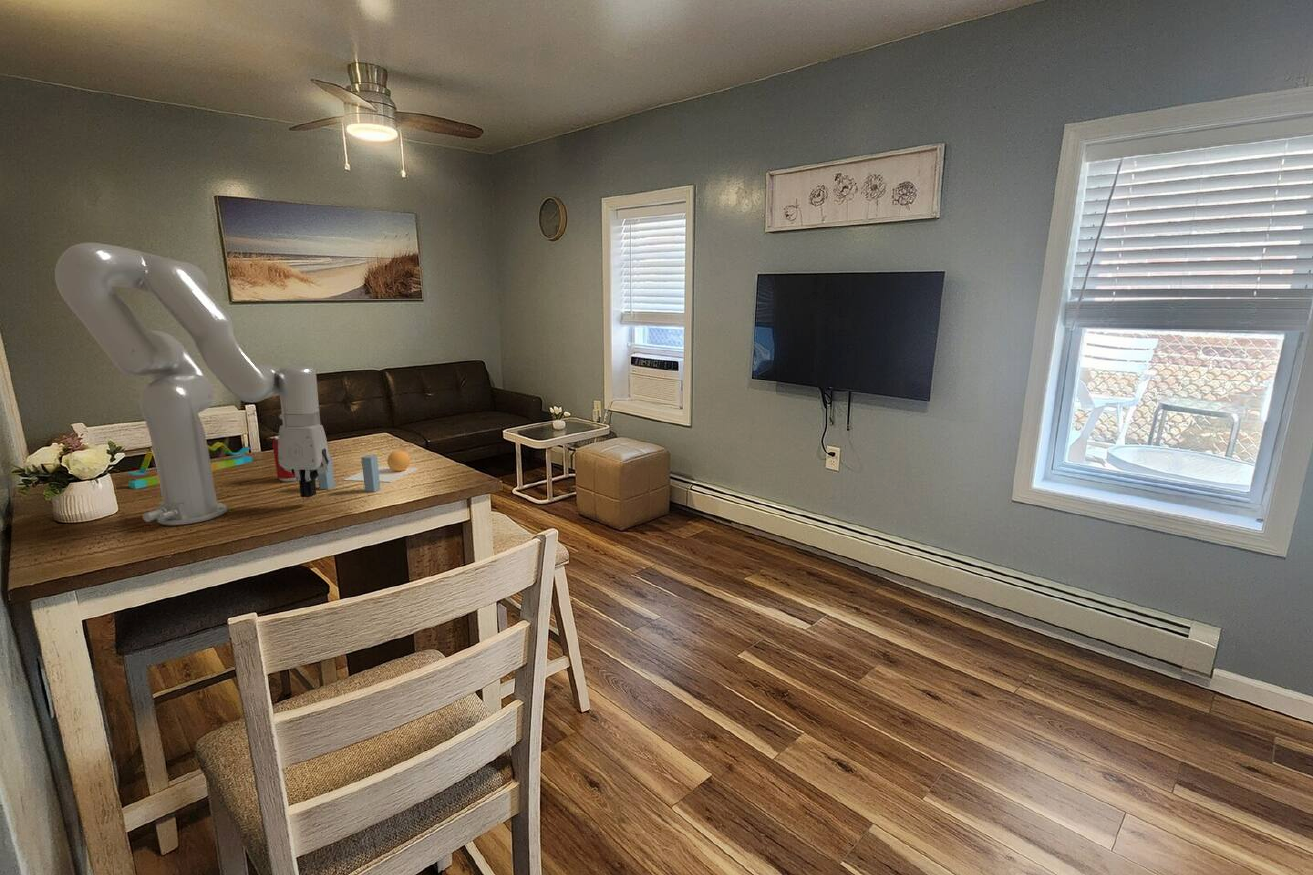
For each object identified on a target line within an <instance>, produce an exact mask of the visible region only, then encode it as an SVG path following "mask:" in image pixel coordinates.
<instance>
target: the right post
mask: <svg viewBox="0 0 1313 875" xmlns="http://www.w3.org/2000/svg"><path fill="white" fill-rule="evenodd" d="M360 459H361V467H362V471H363V478H364V481H363V485H364V491H365V492H366V493H367V492H368V493H370V492H371V493H376V492H377V491H379V490H381V482H380V480H379V471H378V466H379V464H378V455H376V454H375V455H374V454H366V455H363V456H361V458H360Z"/></svg>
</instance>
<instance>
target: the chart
mask: <svg viewBox="0 0 1313 875" xmlns="http://www.w3.org/2000/svg"><path fill="white" fill-rule="evenodd" d="M207 446H208V451H216V450H217V449H219V448H220V447H221V449H223V451H225V453H226V454H228V455H230V456H231V455H232V456H237V457H233V458H228V459H224V460H220V461H214V462H210V463H211V469H212V472H215V471H218V470H221V469H225V468H226V469H227V468H231V467H235V466H238V465H244V464H249V463H252V462H254V461H253V457H252V455H251V456H250V455H244V454H245V453H247V452H248V451H250V450H251V447H250V446H244V447H242V448H241V449H239V451H237V452H232V450H230V449H229V447H228V446H226V445H225V444H224V442H220V441H216V442H215V443H214V444H212V445H211V446H210V445H208V444H207ZM153 455H154V453H153V451H148V452H146V454H145V456H144V458H143V461H142V463H141V466H140V468H139V471H136V472H135V471H134V472H133V471H132V472H126V474H127V475H130V476H139V475H140V476H141V475H143V476H144V475H145V474H146V473H147V470H148V467H149V465H150V463H151V459H152V456H153ZM238 455H240V456H238ZM242 455H243V456H242ZM127 483H128V487H129V488H131V489H141V488H144V487H145V488H146V487H149V486H155V485H158V484H159V485H160V483H159V478H158V474H156V475H151V476H147V477H143V478H138V479H135V480H134V479H133V480H129V481H128V482H127Z"/></svg>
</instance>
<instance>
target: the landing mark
mask: <svg viewBox="0 0 1313 875" xmlns="http://www.w3.org/2000/svg"><path fill="white" fill-rule="evenodd" d="M418 469H419V467H408V468H407V469H405V470H403V471H394V470H392V469H391V468H390V467H389V466H381V465H380V466H379V465H378V471H379V480H380V483H392V482H394V481H397V480H398V479H401V478H403V477H405V476H406V475H409V474H410V473H412V472H413V473H414V472H415V471H417V470H418ZM343 481H346V482H348V481H349V482H350V481H352V482H364V478H363V470H362V471H360V472H358V473H356V474H353V475H351V476H349V477H346V478H343Z"/></svg>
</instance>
